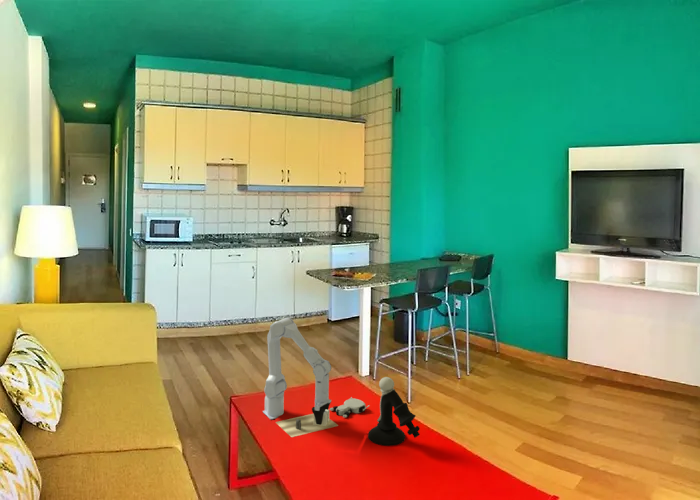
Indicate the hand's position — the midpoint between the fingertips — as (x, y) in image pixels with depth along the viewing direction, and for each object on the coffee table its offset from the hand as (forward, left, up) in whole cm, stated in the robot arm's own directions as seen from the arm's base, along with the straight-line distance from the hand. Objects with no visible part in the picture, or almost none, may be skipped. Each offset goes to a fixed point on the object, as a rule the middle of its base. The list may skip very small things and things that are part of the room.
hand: (321, 420), depth 224 cm
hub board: (-2, -6, -2) cm, 7 cm away
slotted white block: (0, 0, -1) cm, 1 cm away
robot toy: (-5, +17, -2) cm, 18 cm away
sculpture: (+27, +19, -2) cm, 33 cm away
